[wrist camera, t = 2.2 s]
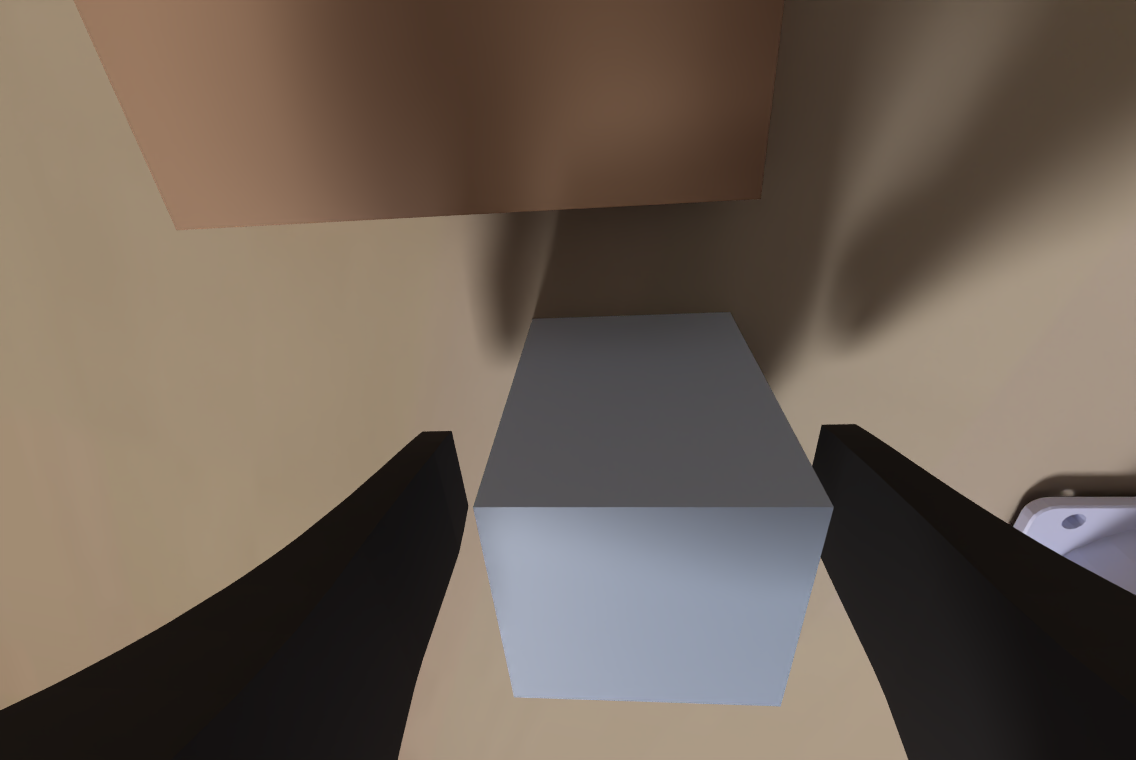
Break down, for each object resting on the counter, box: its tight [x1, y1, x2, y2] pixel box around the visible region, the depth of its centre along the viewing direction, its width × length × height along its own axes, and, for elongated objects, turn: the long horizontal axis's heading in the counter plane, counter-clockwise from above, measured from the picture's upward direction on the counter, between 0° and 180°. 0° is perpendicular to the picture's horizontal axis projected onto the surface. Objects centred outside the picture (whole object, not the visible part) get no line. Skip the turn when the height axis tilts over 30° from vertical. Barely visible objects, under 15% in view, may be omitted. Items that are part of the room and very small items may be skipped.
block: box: [473, 312, 834, 706], centre depth 10 cm, size 4×4×6 cm
